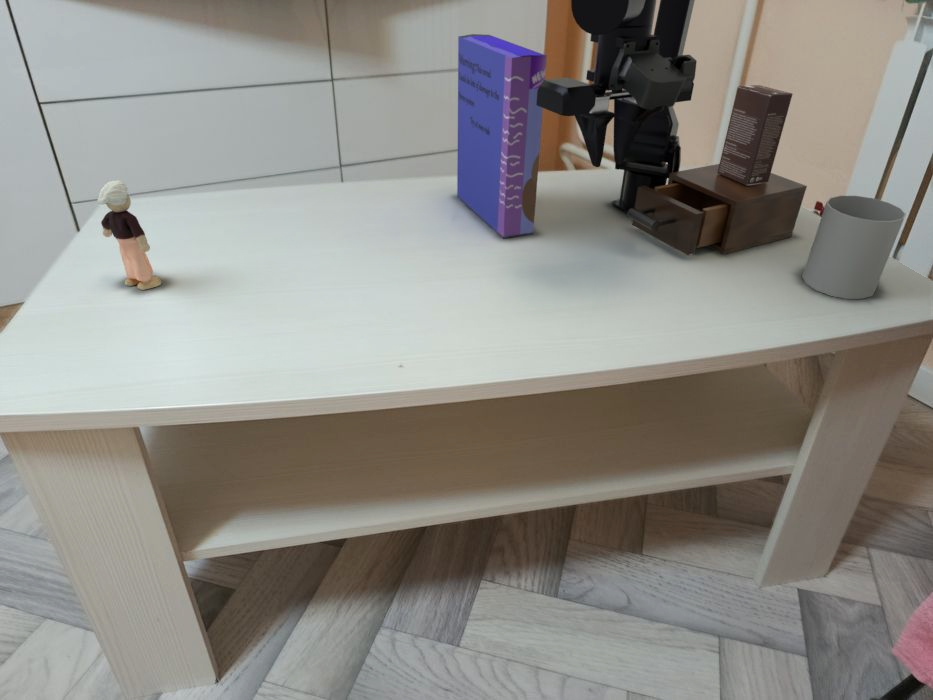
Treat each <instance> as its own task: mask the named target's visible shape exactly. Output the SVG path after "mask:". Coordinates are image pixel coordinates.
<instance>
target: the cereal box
mask: <svg viewBox="0 0 933 700" xmlns="http://www.w3.org/2000/svg"><path fill="white" fill-rule="evenodd" d="M457 37H458V40H457V41H458V42H457V46H458V47H457V48H458V49H457V51H458V53H457V69H458V70H457V164H456V165H457V167H456V168H457V170H456V171H457V172H456V175H457V176H456V177H457V178H456V179H457V183H456V185H457V186H456V187H457V189H456V193H457V194H456V197H457V199H459V200H460V201H461V202H462V203H463V204H464V205H465V206H466V207H468V208H469V210H471V211H472V212H473V213H474V214H475V215H476V216H478V218H480V219H481V220H482V221H483V222H484V223H485V224H486V225H487V226H488V227H490V228H491V229H492V230H493V231H494V232H495V233H496V234H497V235H499V236H500V237H501V238H502V239H510V238H517V237H522V236H528V235H533V234H534V229H535V215H536V203H537V189H538V175H539V163H540V162H539V161H540V149H541V135H542V122H543V121H542V120H543V110H544V108H542V107H539V106H537V105H536V103H537V90H538V88H539V86H540V85H541V83H542V82H543V81H544V80H546V71H547V70H546V69H547V68H546V67H547V55H546V54H543V53H540V52H538V51H535V50H532V49H529V48H527V47H524V46H522V45H519V44H516V43H513V42H510V41H507V40H505V39H502V38H500V37H497V36H493V35H491V34H479V33H477V34H475V33H472V34H465V35H459V36H457Z"/></svg>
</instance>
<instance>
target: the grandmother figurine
mask: <svg viewBox="0 0 933 700" xmlns="http://www.w3.org/2000/svg"><path fill="white" fill-rule="evenodd" d="M128 191H129V189H128V187H127V185H126V183H124V182H122V181H121V180H119V179H118V180H111V181H108V182H107V183H105V184H104V185H103V186H102V188H101V190H100V191H99V195H98V198H97V203H98V204H99V205H106V207H107V208H108V209H109V210H110V211H108V212H107V213H106V214H105V215H104V216H103V218H102V220H101V222H100V224H101V226H102V235H103V236H104V237H106V238H111V237H112V236H113V237H114V239H115V240H116V241H117V243H118V249H119V250H118V251H119V253H120V257H121V260H122V264H123V266H124V271H125V274H126V277H127V278H126V279H125V281H124V285H125V286H129V287H132V286H136V287H137V289H138V290H140V291H144V290H151V289H152V288H156V287H159V286H161V285H162V280H161V278H159V277H158V276H154V275H153V273H154V270H153V267H152V265H151V262H150V259H149V257H148V255H147V252H149V251H150V250H151V246H150V244H149V243H148V240H147V239H148V238H147V237H146V233H145V231H144V229H143V227H142V226H141V225H140V222H139V220H138V218H137V216H135V215H134V214H133V213H131V212H130V211H128V210H129V208H130V207H131V204H132V200H131V197H130V195H129V192H128ZM152 275H153V276H152Z"/></svg>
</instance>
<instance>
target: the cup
mask: <svg viewBox="0 0 933 700" xmlns="http://www.w3.org/2000/svg"><path fill="white" fill-rule="evenodd" d="M905 217H906V212H905V211H904V210H903V209H902V208H901V207H899V206H898V205H897V206H896V205H894V204H893V203H890V202H888V201H884V200H881V199H876V198H873V197H868V196H867V197H866V196H860V195H837V196H831V197H829V198H828V200H827V201H826V203H825V205H824V208H823V212H822V215H821V218H820V221H819V222H818V223H819V224H818V226H817V231H816V233H815V236H814V239H813V242H812V245H811V248H810V252H809V254H808V256H807V259H806V263H805V266H804V269H803V271H802V275H801V277H802V280H803V281H804V283H805V284H806V285H807V286H808V287H810V288H812V289H813V290H815V291H817V292H820V293H823V294H825V295H827V296H831V297H835V298H839V299H845V300H846V299H847V300H864V299H866V298H870V297H873V295H874V294H875V291H876V290H877V287H878V284H879V282H880V279H881V277H882V274H883V272H884V269H885V268H886V264H887V263H888V260H889V257H890V255H891V252H892V249H893V247H894V244H895V242H896V240H897V237H898V235H899V233H900V230H901V227H902V225H903V222H904V220H905Z"/></svg>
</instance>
